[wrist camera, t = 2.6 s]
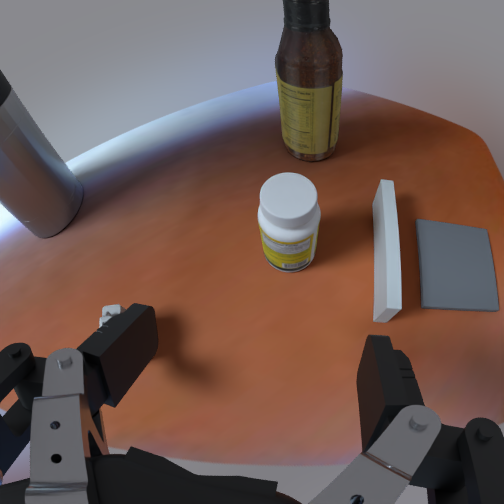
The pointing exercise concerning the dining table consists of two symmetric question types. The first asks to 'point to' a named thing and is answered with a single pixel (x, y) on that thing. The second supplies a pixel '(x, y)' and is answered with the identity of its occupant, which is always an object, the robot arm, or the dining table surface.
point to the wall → (386, 254)
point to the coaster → (455, 267)
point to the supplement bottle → (289, 221)
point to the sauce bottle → (309, 80)
